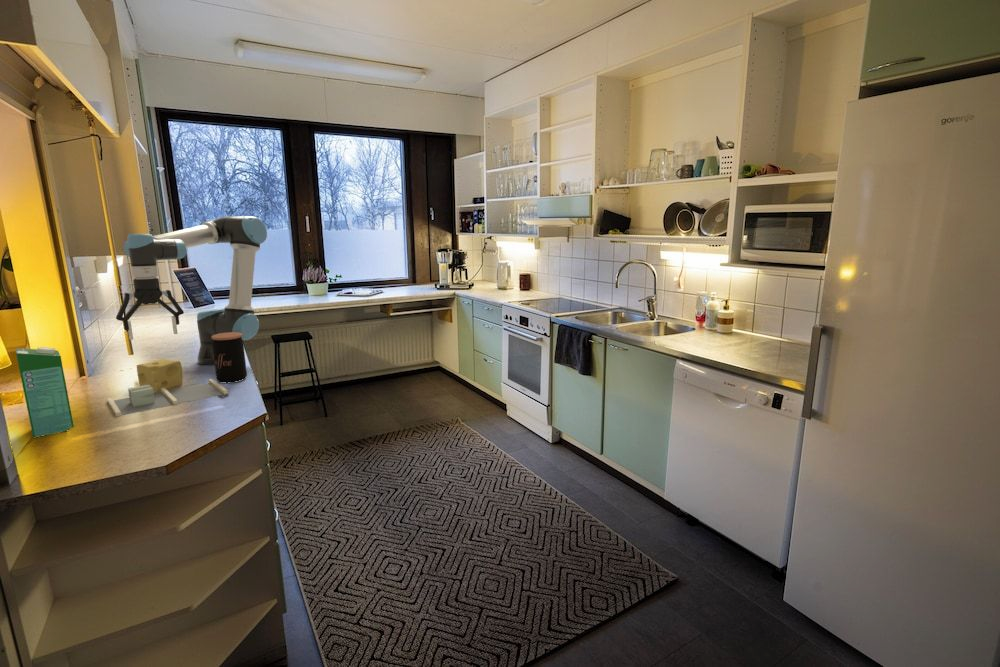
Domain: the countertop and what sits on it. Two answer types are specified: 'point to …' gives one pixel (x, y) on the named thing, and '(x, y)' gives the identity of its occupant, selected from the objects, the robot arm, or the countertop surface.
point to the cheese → (160, 374)
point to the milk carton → (44, 390)
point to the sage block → (141, 395)
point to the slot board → (170, 397)
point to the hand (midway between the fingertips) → (154, 336)
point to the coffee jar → (229, 357)
